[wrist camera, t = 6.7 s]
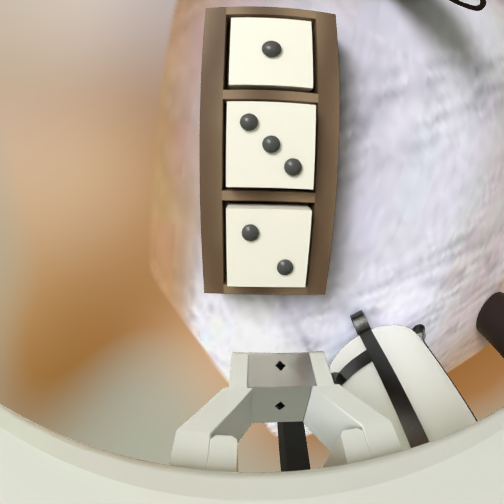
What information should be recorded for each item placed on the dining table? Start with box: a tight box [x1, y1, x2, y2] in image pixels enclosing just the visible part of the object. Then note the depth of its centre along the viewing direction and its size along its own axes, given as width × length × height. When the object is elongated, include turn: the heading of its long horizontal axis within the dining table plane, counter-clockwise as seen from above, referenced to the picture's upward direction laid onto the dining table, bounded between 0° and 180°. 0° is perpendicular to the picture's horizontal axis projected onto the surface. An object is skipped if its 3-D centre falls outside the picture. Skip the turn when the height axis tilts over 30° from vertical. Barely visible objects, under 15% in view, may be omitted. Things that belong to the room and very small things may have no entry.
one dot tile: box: [229, 17, 313, 93], centre depth 17 cm, size 6×6×2 cm
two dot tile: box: [226, 203, 312, 287], centre depth 21 cm, size 6×6×2 cm
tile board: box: [200, 7, 339, 295], centre depth 20 cm, size 10×23×4 cm, turn 179°
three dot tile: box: [226, 101, 316, 189], centre depth 18 cm, size 6×6×2 cm
